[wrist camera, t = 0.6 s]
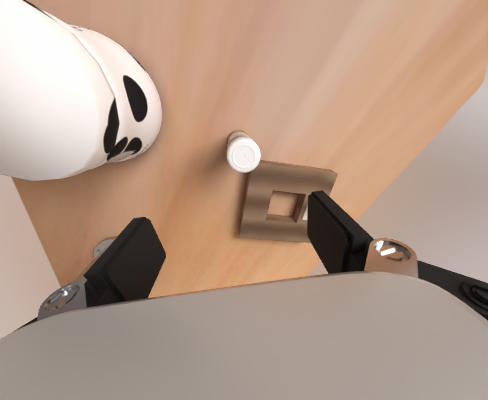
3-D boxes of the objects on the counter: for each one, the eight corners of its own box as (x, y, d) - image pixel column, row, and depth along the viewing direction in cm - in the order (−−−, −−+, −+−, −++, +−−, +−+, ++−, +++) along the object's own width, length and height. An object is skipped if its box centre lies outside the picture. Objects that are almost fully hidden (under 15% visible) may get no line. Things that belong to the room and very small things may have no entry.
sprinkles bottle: (245, 156, 37) (253, 178, 25) (224, 148, 36) (221, 167, 24) (253, 134, 35) (266, 146, 23) (231, 125, 34) (233, 133, 22)
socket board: (305, 235, 47) (310, 243, 45) (238, 229, 45) (239, 237, 42) (330, 169, 40) (338, 174, 37) (250, 158, 37) (252, 162, 34)
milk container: (72, 10, 26) (-187, -158, 10) (184, 89, 31) (137, 65, 15) (49, 120, 32) (-138, 129, 15) (147, 171, 37) (84, 217, 21)
